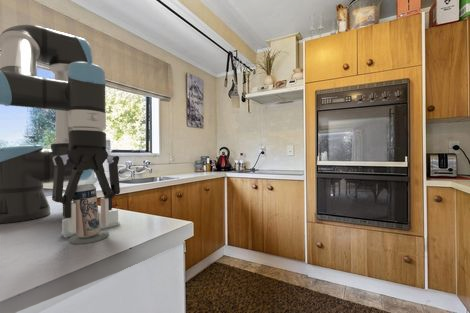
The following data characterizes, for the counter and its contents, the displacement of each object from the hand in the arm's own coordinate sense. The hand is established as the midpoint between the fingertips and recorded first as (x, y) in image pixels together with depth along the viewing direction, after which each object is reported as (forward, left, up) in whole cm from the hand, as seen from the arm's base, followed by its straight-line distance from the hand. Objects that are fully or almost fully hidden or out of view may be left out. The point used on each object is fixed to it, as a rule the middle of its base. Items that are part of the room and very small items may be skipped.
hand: (89, 227), depth 55 cm
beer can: (0, 0, -2) cm, 2 cm away
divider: (-6, +3, -2) cm, 8 cm away
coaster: (0, 0, -2) cm, 2 cm away
